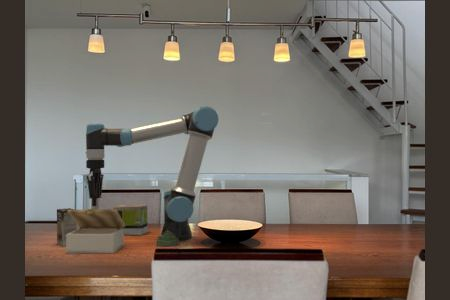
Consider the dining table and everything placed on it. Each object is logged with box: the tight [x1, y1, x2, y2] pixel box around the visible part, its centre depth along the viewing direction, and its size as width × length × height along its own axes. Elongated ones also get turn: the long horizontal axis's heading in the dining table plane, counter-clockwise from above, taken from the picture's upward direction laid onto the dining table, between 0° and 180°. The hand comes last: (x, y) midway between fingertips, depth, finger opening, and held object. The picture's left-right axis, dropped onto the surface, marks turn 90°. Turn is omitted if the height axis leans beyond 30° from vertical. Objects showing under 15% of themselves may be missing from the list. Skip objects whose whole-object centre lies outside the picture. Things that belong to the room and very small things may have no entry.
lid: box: [68, 208, 125, 229], centre depth 168 cm, size 21×16×2 cm
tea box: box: [113, 204, 149, 236], centre depth 200 cm, size 15×10×15 cm, turn 84°
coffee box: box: [56, 208, 78, 248], centre depth 178 cm, size 9×6×16 cm
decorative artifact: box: [156, 229, 180, 248], centre depth 174 cm, size 10×7×10 cm
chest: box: [65, 228, 125, 255], centre depth 167 cm, size 20×14×8 cm
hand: (95, 213), depth 167 cm, fingers closed
